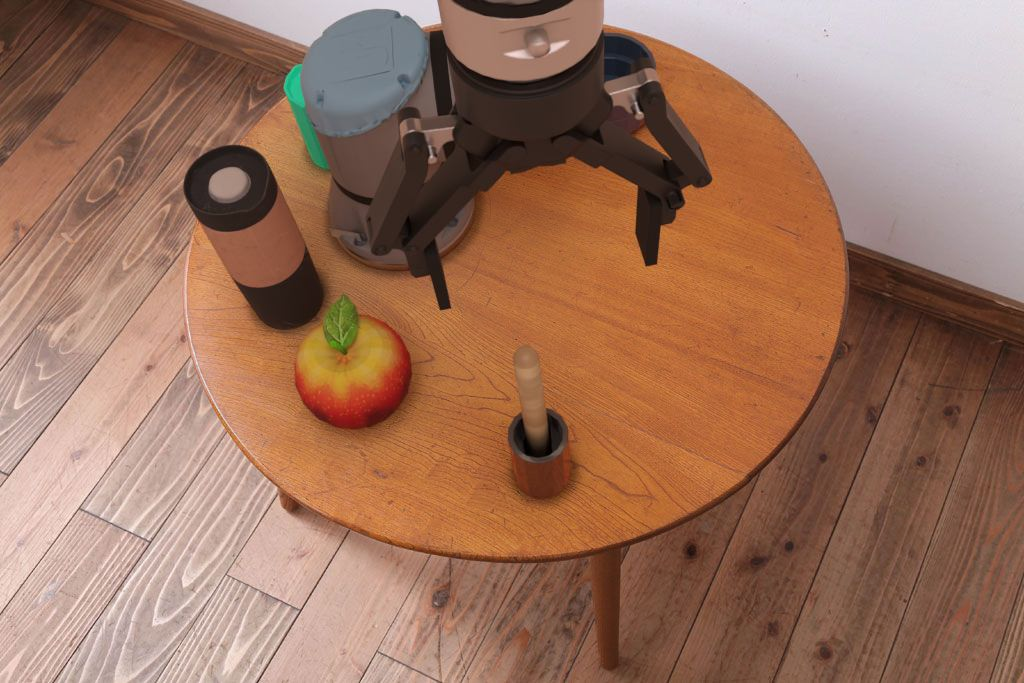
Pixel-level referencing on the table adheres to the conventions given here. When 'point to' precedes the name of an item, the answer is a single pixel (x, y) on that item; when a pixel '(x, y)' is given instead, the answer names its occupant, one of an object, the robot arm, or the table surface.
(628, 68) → the bowl
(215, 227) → the travel mug
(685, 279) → the table surface
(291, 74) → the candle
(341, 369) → the fruit
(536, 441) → the stick
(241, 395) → the table surface
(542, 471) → the holder
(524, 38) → the robot arm
